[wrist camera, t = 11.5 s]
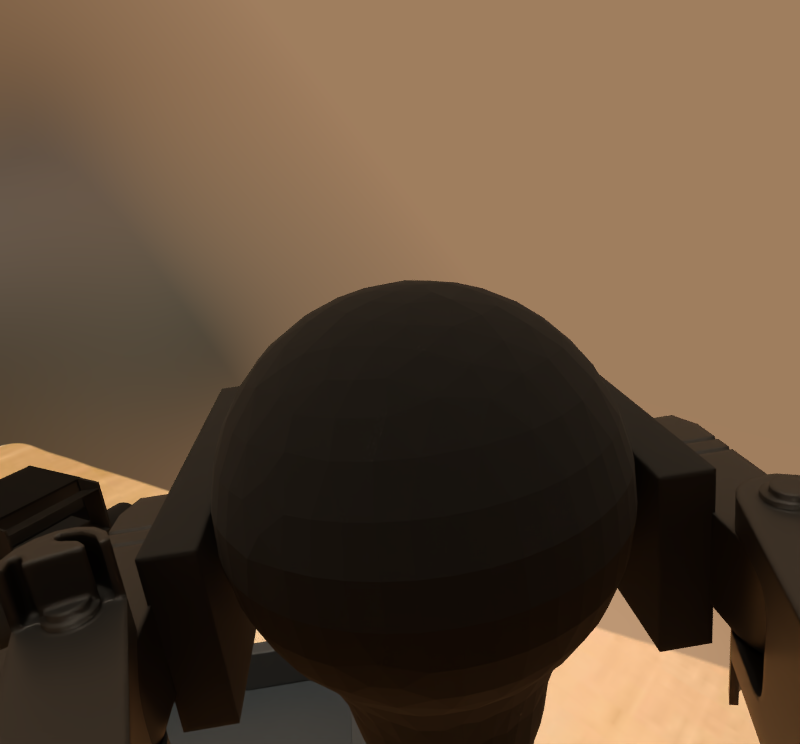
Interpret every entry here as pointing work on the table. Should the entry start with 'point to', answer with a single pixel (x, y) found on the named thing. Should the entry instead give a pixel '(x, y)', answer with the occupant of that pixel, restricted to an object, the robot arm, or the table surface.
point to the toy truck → (47, 512)
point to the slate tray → (278, 710)
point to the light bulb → (425, 507)
